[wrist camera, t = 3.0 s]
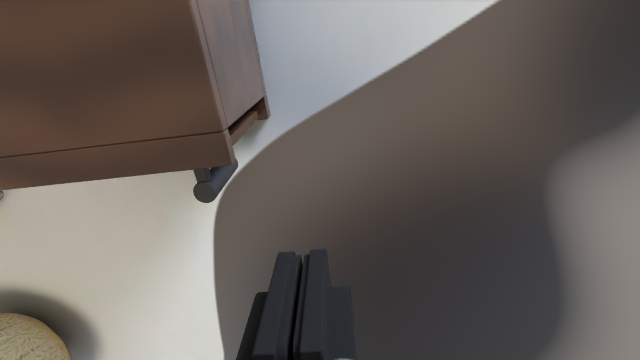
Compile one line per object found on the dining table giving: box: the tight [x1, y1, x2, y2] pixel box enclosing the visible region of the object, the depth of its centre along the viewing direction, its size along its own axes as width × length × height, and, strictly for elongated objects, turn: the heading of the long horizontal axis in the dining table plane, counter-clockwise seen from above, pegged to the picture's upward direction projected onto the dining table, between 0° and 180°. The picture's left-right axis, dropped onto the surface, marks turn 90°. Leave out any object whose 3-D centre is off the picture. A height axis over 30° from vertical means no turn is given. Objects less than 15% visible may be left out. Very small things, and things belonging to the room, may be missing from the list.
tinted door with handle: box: [193, 111, 258, 203], centre depth 22 cm, size 4×8×9 cm, turn 97°
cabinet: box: [0, 0, 270, 190], centre depth 20 cm, size 10×18×11 cm, turn 97°
